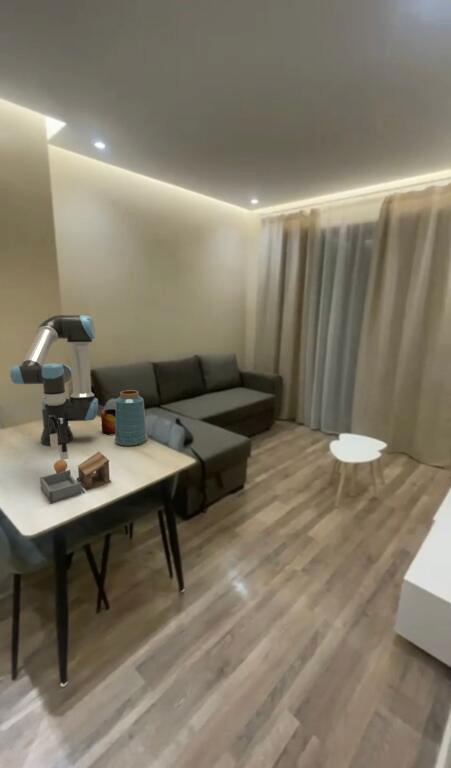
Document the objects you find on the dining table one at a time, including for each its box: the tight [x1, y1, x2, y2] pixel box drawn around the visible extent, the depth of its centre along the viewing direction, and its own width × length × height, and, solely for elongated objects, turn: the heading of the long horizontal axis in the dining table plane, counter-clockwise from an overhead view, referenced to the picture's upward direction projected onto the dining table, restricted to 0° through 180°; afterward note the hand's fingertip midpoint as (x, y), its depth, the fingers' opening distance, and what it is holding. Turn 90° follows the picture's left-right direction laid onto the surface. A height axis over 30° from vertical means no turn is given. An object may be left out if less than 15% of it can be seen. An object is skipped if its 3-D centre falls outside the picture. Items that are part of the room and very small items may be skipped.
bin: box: [39, 469, 83, 504], centre depth 131 cm, size 14×11×4 cm
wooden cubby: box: [76, 451, 112, 491], centre depth 138 cm, size 11×10×10 cm
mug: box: [100, 408, 116, 436], centre depth 194 cm, size 10×14×12 cm
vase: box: [114, 389, 148, 447], centre depth 179 cm, size 16×16×27 cm
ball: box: [53, 459, 68, 472], centre depth 141 cm, size 5×5×5 cm
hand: (59, 453), depth 140 cm, fingers open, 13 cm apart
